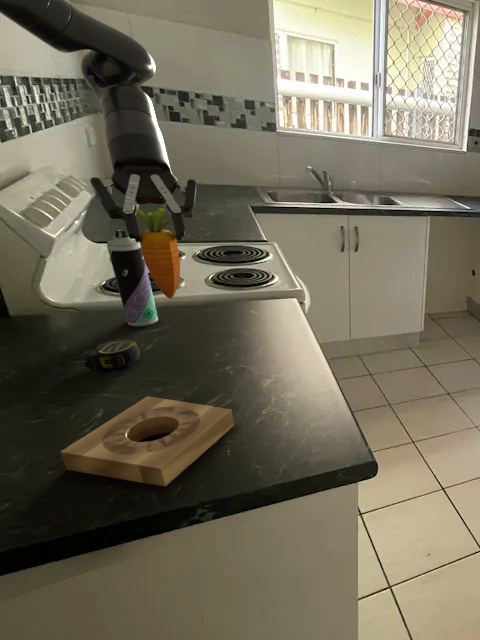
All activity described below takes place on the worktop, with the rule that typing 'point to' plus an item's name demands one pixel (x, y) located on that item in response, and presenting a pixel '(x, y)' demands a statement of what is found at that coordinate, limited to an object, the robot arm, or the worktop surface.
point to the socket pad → (149, 457)
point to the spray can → (132, 279)
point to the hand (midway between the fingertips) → (158, 238)
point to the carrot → (160, 252)
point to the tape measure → (113, 355)
